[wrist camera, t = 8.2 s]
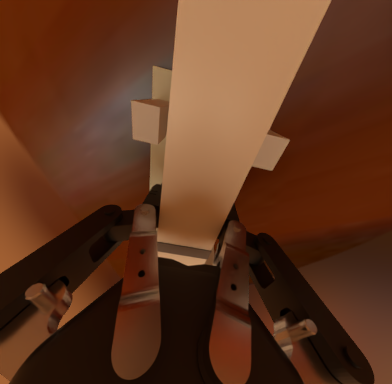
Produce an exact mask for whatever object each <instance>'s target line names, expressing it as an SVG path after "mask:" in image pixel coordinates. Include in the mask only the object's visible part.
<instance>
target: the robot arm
mask: <svg viewBox="0 0 392 384" xmlns="http://www.w3.org/2000/svg"><path fill="white" fill-rule="evenodd" d="M161 191H162V184H161V185H160V184H155V185H154V186H152V188H151V190H150V192H149V194H148V195H147V197H146V199H145V200H144V202H143V204H141V205H139V206H137V207H136V208H135V210H126V211H122V210H121V208H120V207H119V206H117V205H106V206H104V207H102V208H100V209H98V210H97V211H95V212H94V213H92V214H91V215H89V216H88V217H86V218H85V219H83V220H82V221H80V222H79V223H77V224H75V225H74V226H73V227H71V228H70V229H68V230H66V231H65V232H63V233H62V234H60V235H59V236H57V237H56V238H54V239H53V240H51V241H50V242H48V243H46V244H45V245H43V246H42V247H40V248H39V249H37V250H36V251H35V252H33V253H31V254H30V255H28V256H27V257H25V258H24V259H22V260H21V261H19V262H18V263H16V264H14V265H13V266H11V267H10V268H8V269H7V270H5V271H4V272H2V273H1V274H0V374H1V375H3V376H4V377H5V378H6V379H8V380H9V381H10V383H9V384H374V374H373V371H372V368H371V366H370V364H369V363H368V360H367V359H366V357H365V356H364V354H363V353H362V352H361V350H360V349H359V348H358V347H357V345H356V344H355V343H354V341H353V340H352V339H351V338H350V336H349V335H348V334H347V333H346V331H345V330H344V329H343V327H342V326H341V325H340V323H339V322H338V321H337V320H336V318H335V317H334V316H333V315H332V313H331V312H330V311H329V309H328V308H327V307H326V305H325V304H324V303H323V302H322V300H321V299H320V298H319V296H318V295H317V294H316V293H315V291H314V290H313V289H312V287H311V286H310V285H309V284H308V282H307V281H306V280H305V279H304V277H303V276H302V275H301V273H300V272H299V271H298V269H297V268H296V267H295V266H294V264H293V263H292V262H291V261H290V259H289V258H288V257H287V255H286V254H285V253H284V252H283V250H282V249H281V248H280V246H279V245H278V244H277V243H276V241H275V240H274V239H273V238H272V237H271V236H270V235H268V234H266V233H259V234H258V235H257V236H256V235H254V234H252V233H249V232H247V231H246V228H245V226H244V225H243V224H242V223H240V222H239V218H238V215H237V211H236V208H235V204H233V206H232V208H231V210H230V212H229V214H228V216H227V218H226V220H225V222H224V224H223V226H222V229H221V231H220V233H219V235H218V237H217V239H219V243H218V245H217V249H216V253H215V257H214V261H213V265H207V264H200V265H192V266H187V265H185V264H182V263H180V262H178V261H176V260H173V259H169V258H163V257H158V249H157V231H156V228H158V225H159V214H160V203H161ZM124 240H129V244H128V251H127V258H126V264H125V271H124V278H122V279H121V280H120V281H119V282H117V283H116V284H115V285H114V286H112V287H111V288H110V289H109V290H107V291H106V292H105V293H103V294H102V295H101V296H100V297H98V298H97V299H96V300H95V301H93V302H92V303H91V304H90V305H88V306H87V307H86V308H85V309H84V310H82V311H81V312H80V313H78V314H77V315H76V316H75V317H74V318H72V319H71V320H70V321H68V322H67V323H66V324H65V325H63V326H62V327H61V328H60V329H58V330H57V328H58V325H59V322H60V320H61V319H62V317H63V315H64V314H65V313H66V312H67V310H68V309H69V307H70V305H71V303H72V293H73V292H74V291H75V290H76V289H77V288H78V287H79V286H80V285H81V284H82V283H83V282H84V281H85V280H86V279H87V278H88V276H90V274H91V273H92V272H93V271H94V270H95V269H96V268H97V267H98V266H99V265H100V264H101V263H102V262H103V261H104V260H105V259H106V258H107V257H108V256H109V255H110V254H111V253H112V252H113V251H114V250H115V249H116V248H117V247H118V246H119V245H120V244H121V243H122V242H123V241H124ZM264 261H266V263H267V264H268V266H269V267H270V269H271V271H272V272H273V274H274V277H275V280H274V278H273V277H272V275H271V274H270V272H269V270H268V269H267V267H266V266H265V264H264ZM249 275H250V277H251V278H252V280H253V282H254V284H255V286H256V288H257V290H258V292H259V294H260V296H261V298H262V300H263V302H264V304H265V306H266V308H267V310H268V312H269V314H270V316H271V318H272V320H273V322H274V337H273V336H272V335H271V333H270V332H269V331H268V329H267V328H266V326H265V325H264V323H263V322H262V321H261V319H260V318H259V316H258V315H257V314H256V312H255V311H254V310H253V308H252V307H251V305H250V304H249V303H248V298H249V297H248V295H249Z"/></svg>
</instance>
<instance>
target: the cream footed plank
mask: <svg viewBox="0 0 392 384" xmlns="http://www.w3.org/2000/svg"><path fill="white" fill-rule="evenodd" d="M171 78H172V71H171V70H167V69H164V68H160V67H156V66H153V82H152V99H146V100H131V108H132V130H133V139H134V140H138V141H143V142H147V143H151V156H150V190H151V188H152V186H154V185H155V184H160V185H161V184H162V180H163V169H164V157H165V146H166V135H167V123H168V112H169V101H170V90H171ZM289 141H290V140H289V139H287V138H285V137H283V136H281V135H279V134H277V133H275V132H273V131H271V130H269V131H268V133H267V135H266V137H265V139H264V141H263V143H262V145H261V148H260V150H259V152H258V154H257V156H256V158H255V160H254V162H253V164H252V166H253V167H257V168H262V169H266V170H271V171H272V170H273V169H274V167H275V165H276V163H277V162H278V160H279V158H280V157H281V155H282V153H283V152H284V150H285V148H286V146H287V145H288V143H289ZM156 231H157V236H158V228H156ZM211 251H212V252H211V254H210V256H209V258H208V260H206V262H205V264H207V265H213V261H214V245H213V247H212V249H211Z"/></svg>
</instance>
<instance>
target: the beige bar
mask: <svg viewBox="0 0 392 384" xmlns="http://www.w3.org/2000/svg"><path fill="white" fill-rule="evenodd" d="M330 2H331V0H178V10H177V22H176V33H175V44H174V56H173V67H172V78H171V90H170V101H169V112H168V123H167V135H166V146H165V157H164V169H163V180H162V191H161V203H160V214H159V225H158V236H157V249H158V257H163V258H169V259H173V260H176V261H178V262H180V263H182V264H185V265H187V266H192V265H200V264H205V262H206V260H208V258H209V256H210V254H211V252H212V251H211V249H212V247H213V245H214V243H215V241H216V239H217V237H218V235H219V233H220V231H221V229H222V226H223V224H224V222H225V220H226V218H227V216H228V214H229V212H230V210H231V208H232V206H233V204H234V202H235V199H236V197H237V195H238V193H239V191H240V189H241V187H242V185H243V183H244V181H245V179H246V177H247V175H248V172H249V170H250V168H251V166H252V164H253V162H254V160H255V158H256V156H257V154H258V152H259V150H260V148H261V145H262V143H263V141H264V139H265V137H266V135H267V133H268V131H269V129H270V127H271V125H272V123H273V121H274V119H275V116H276V114H277V112H278V110H279V108H280V106H281V104H282V102H283V100H284V98H285V96H286V94H287V92H288V89H289V87H290V85H291V83H292V81H293V79H294V77H295V75H296V73H297V71H298V69H299V67H300V65H301V62H302V60H303V58H304V56H305V54H306V52H307V50H308V48H309V46H310V44H311V42H312V40H313V38H314V35H315V33H316V31H317V29H318V27H319V25H320V23H321V21H322V19H323V17H324V15H325V13H326V11H327V8H328V6H329V4H330Z"/></svg>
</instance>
